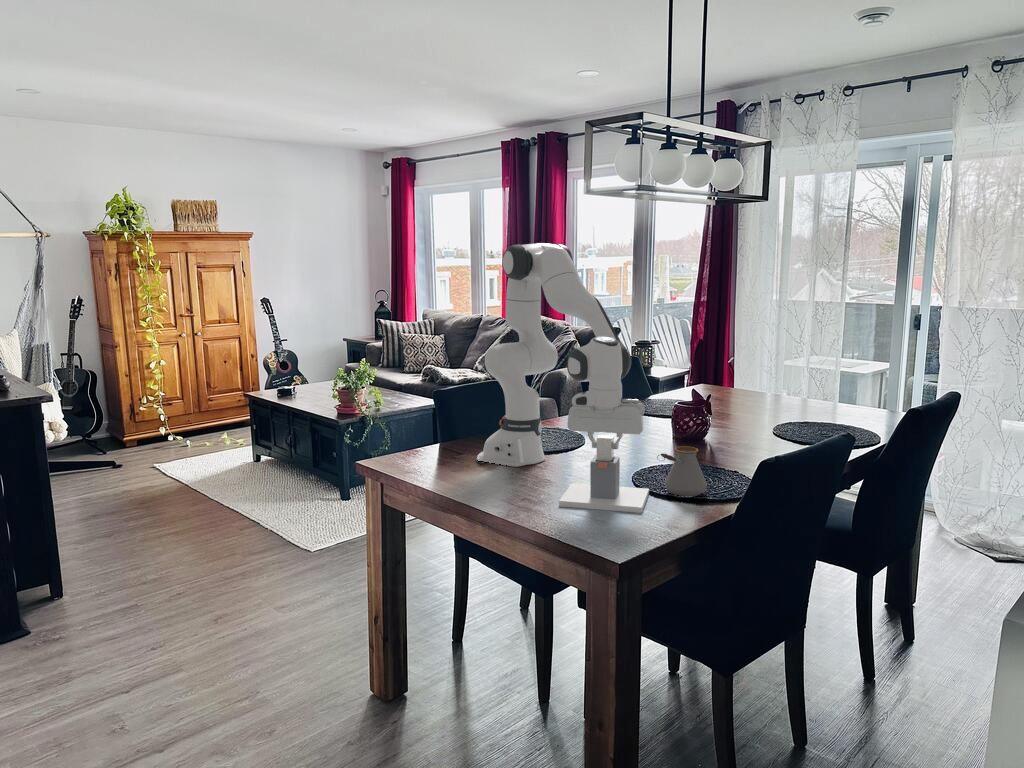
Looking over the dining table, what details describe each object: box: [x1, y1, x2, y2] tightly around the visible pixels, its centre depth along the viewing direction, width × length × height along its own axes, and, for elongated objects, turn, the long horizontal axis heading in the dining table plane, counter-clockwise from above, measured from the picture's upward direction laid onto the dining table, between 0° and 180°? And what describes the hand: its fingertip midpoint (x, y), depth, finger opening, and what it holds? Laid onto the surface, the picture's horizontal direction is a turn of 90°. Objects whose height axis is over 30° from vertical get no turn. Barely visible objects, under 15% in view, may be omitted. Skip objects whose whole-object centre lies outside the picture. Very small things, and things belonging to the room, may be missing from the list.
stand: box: [558, 454, 650, 514], centre depth 200 cm, size 22×16×12 cm
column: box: [596, 434, 615, 462], centre depth 199 cm, size 4×4×16 cm
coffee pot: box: [656, 445, 708, 496], centre depth 200 cm, size 21×12×15 cm, turn 142°
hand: (605, 448), depth 198 cm, fingers open, 4 cm apart
